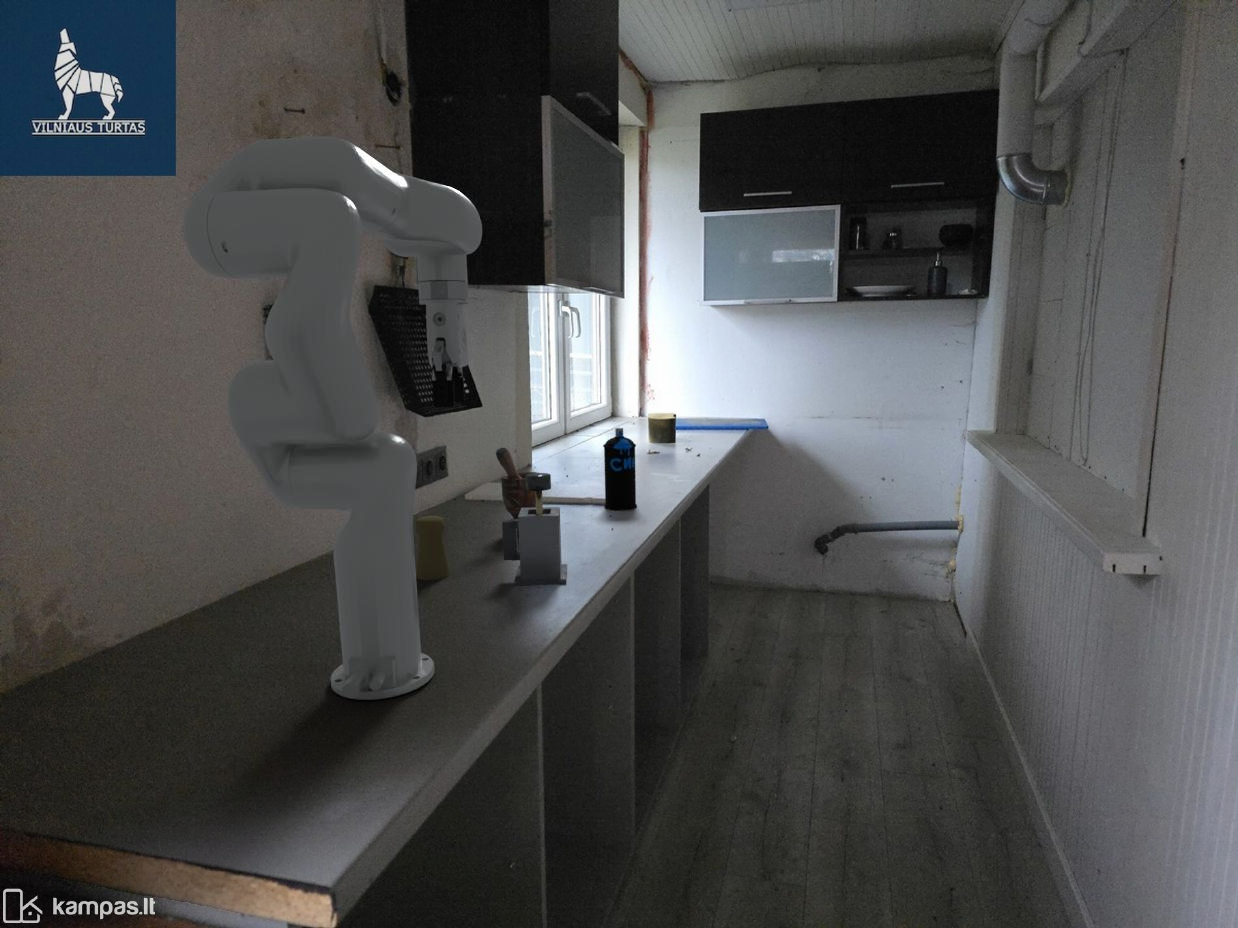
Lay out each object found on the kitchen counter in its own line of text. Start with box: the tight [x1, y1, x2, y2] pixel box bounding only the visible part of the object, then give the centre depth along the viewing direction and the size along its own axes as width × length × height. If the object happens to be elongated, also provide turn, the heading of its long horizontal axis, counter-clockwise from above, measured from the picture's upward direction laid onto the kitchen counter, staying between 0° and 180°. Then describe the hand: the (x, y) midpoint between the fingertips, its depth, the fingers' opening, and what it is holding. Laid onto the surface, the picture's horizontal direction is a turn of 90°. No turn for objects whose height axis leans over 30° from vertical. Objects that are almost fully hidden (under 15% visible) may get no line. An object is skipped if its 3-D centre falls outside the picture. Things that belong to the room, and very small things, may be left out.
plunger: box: [526, 472, 552, 514], centre depth 135 cm, size 4×4×15 cm
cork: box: [415, 515, 451, 581], centre depth 138 cm, size 6×6×11 cm
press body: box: [501, 506, 568, 586], centre depth 136 cm, size 9×11×12 cm
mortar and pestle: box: [495, 447, 538, 538], centre depth 165 cm, size 12×9×20 cm
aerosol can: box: [602, 427, 638, 511], centre depth 190 cm, size 8×8×20 cm
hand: (449, 404), depth 121 cm, fingers open, 9 cm apart
